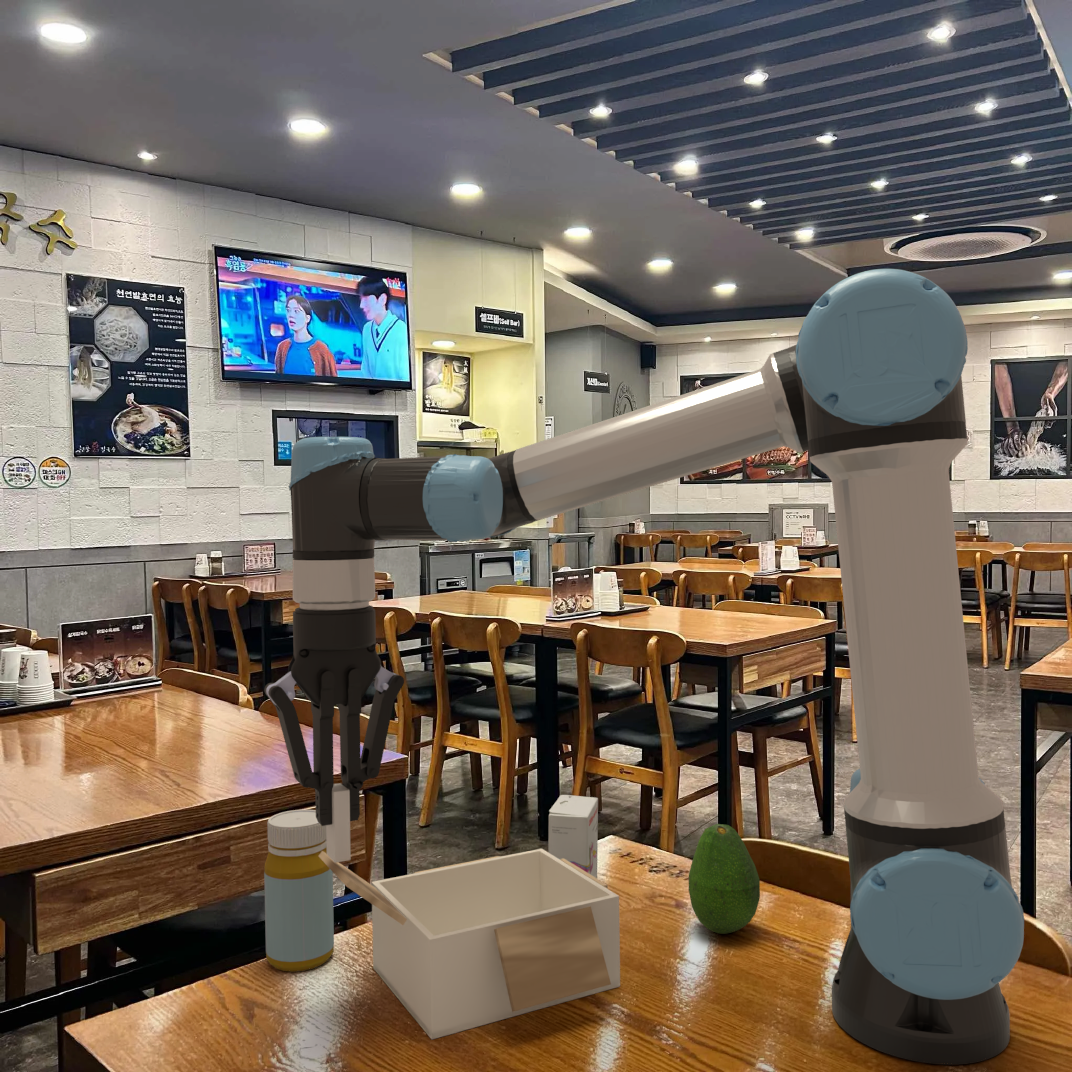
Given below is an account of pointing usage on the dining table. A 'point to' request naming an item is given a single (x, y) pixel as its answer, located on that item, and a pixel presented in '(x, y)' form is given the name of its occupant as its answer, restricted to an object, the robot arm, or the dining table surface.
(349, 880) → the left flap
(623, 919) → the dining table surface
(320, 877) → the bottle
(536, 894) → the carton
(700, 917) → the fruit
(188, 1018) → the dining table surface
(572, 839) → the ink box
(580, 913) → the near flap
